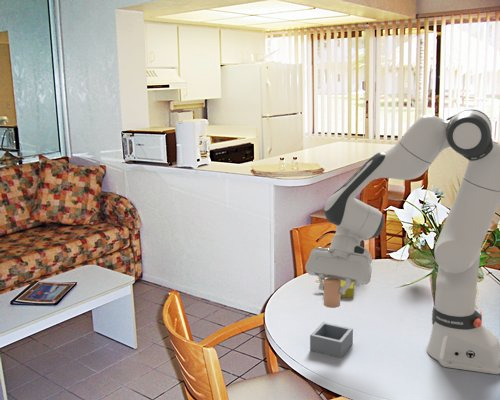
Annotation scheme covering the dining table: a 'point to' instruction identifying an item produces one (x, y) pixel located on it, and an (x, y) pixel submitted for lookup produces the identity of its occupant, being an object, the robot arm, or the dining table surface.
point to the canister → (332, 292)
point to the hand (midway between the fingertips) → (331, 291)
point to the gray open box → (331, 339)
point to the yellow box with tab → (348, 292)
